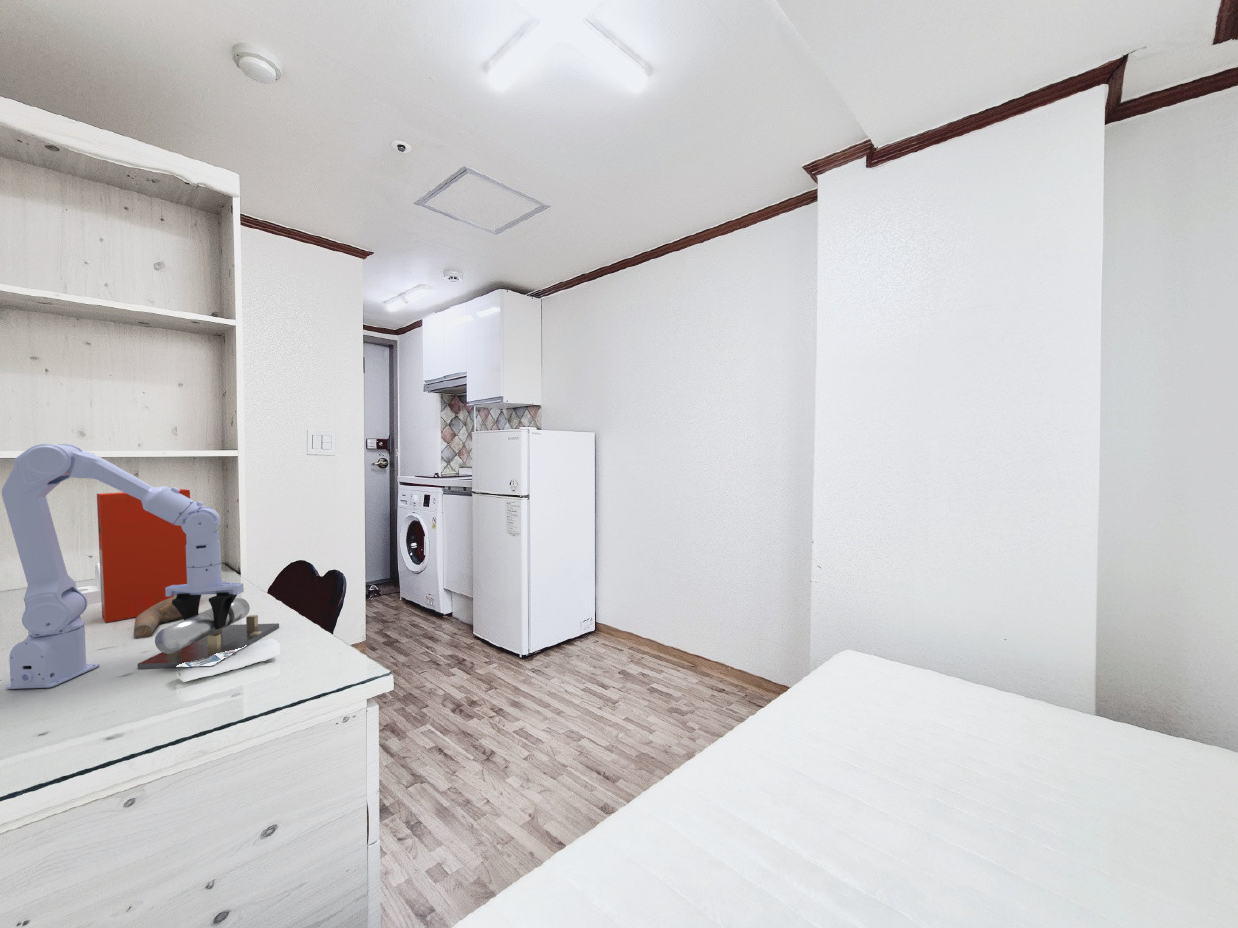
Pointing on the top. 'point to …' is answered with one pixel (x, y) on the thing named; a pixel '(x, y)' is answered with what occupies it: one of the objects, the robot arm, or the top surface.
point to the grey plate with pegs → (213, 644)
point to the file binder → (136, 556)
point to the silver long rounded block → (197, 627)
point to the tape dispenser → (93, 588)
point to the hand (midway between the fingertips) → (206, 628)
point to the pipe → (155, 617)
